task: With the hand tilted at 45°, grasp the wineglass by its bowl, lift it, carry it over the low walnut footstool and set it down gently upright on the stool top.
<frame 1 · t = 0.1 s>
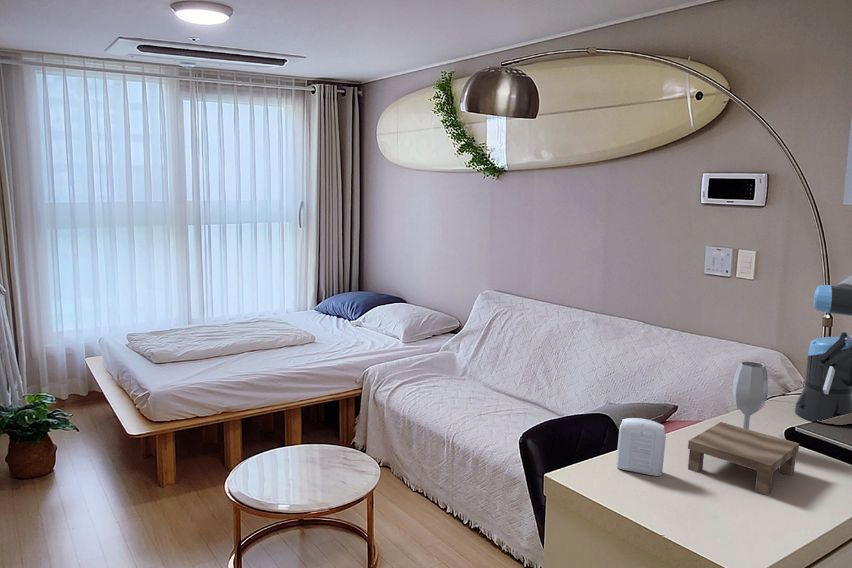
footstool: (740, 470, 156), on the table
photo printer: (639, 471, 155), on the table
wineglass: (744, 443, 172), on the table
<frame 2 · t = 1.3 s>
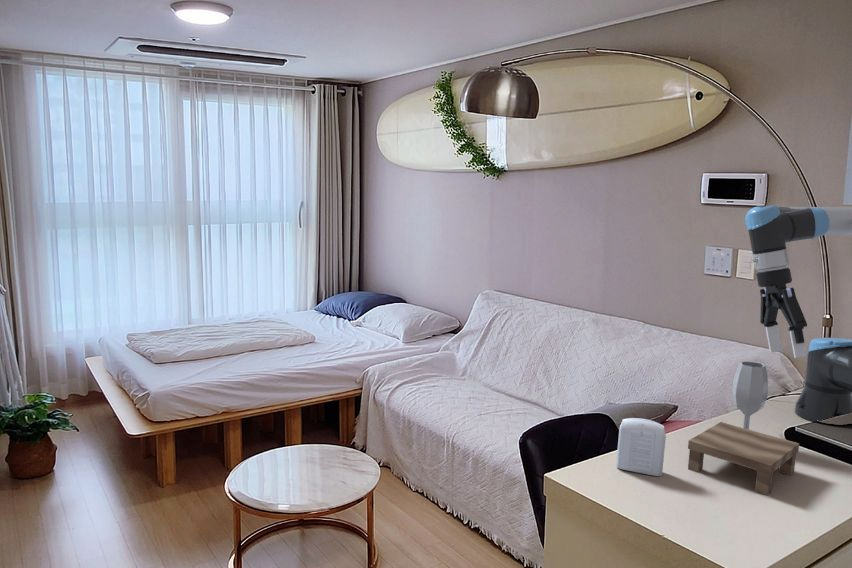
hand: (788, 354, 165), 25 cm above the table, tool tilted 15°, fingers open, 13 cm apart
nothing on the table moved.
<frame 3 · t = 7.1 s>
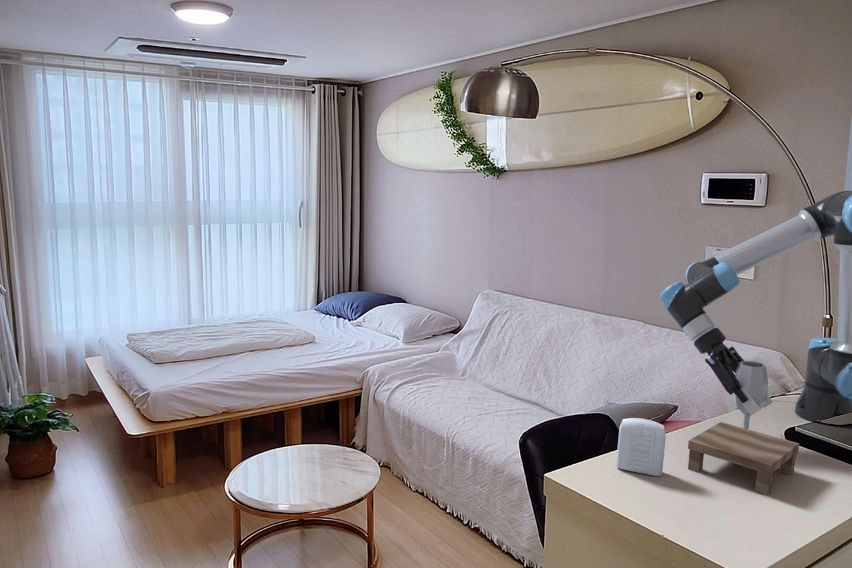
hand: (762, 408, 168), 10 cm above the table, tool tilted 45°, fingers closed on wineglass, 8 cm apart
wineglass: (744, 443, 172), on the table, touching gripper
everything else where it was.
when the fingers open (19 cm above the table, at t = 13.3 s): wineglass drops 1 cm, resting on footstool.
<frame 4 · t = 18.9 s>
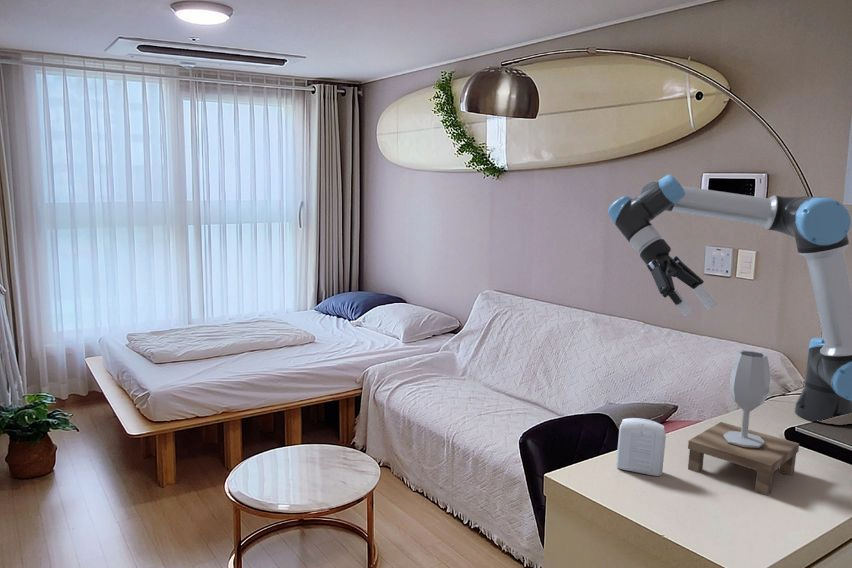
hand: (701, 310, 171), 34 cm above the table, tool tilted 45°, fingers open, 13 cm apart
wineglass: (743, 442, 155), point 7 cm above the table, touching footstool
everything else where it was.
at the end: wineglass inside the target area on the footstool (0.1 cm from its centre), point 6.8 cm above the footstool's base; wineglass tilted 0°; the gripper is holding nothing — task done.
